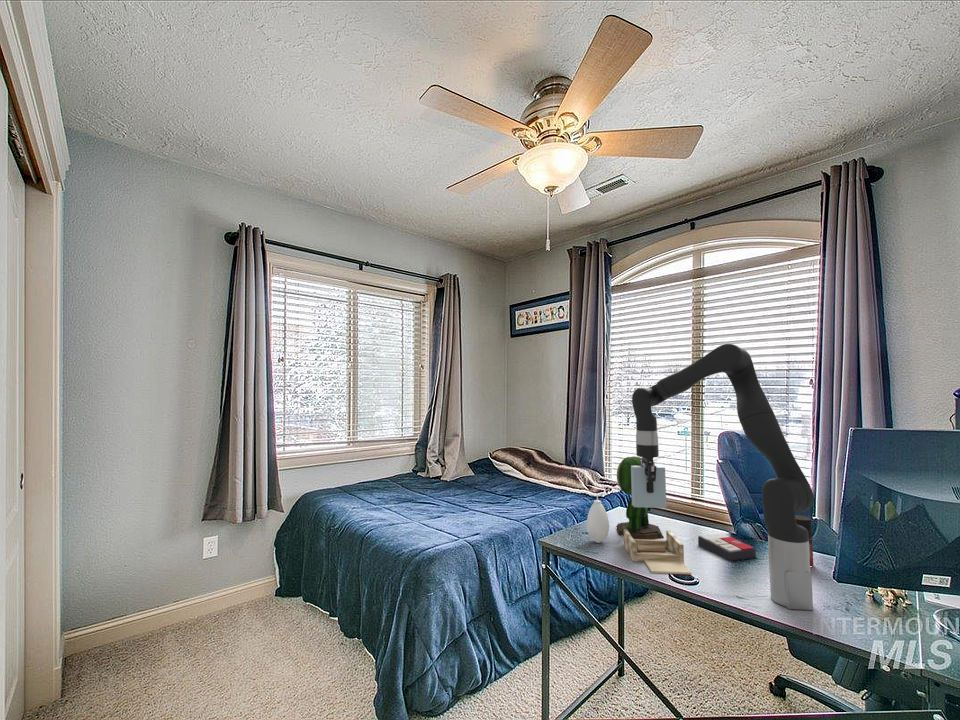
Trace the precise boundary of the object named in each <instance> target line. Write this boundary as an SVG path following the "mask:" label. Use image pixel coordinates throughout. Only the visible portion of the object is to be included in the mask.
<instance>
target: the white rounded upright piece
mask: <svg viewBox="0 0 960 720" xmlns="http://www.w3.org/2000/svg"><path fill="white" fill-rule="evenodd" d="M588 510H589V511H588V515H587V518H586V529H587V533H588V536H589V537H590V538H591V540H593V542H595V543H596V544H597V543H598V544H600V543H602V542H604V540H606V539H607V537H608V535H609V531H610V521H609V516H608V513H607V510H606V508H605V506H604V505H603V504H602V501H601V500H599V495H598V493H596V500H595V499H594V500H593V504H592V505H591V506H590V509H588Z"/></svg>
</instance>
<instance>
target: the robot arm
mask: <svg viewBox="0 0 960 720" xmlns="http://www.w3.org/2000/svg"><path fill="white" fill-rule="evenodd" d="M719 373H724V374H726V376H727V378H728V379H729V382H730V383H731V385H732V387H733V389H734V392H735V397H736V413H737V416H738V420H739V423H740V425H741V427H742V430H743V433H744V434H745V437H746V438H747V440H748V441H749V442H750V443H751V444H752V446H754V448H755V449H756V450H757V451H759V452H760V453H761V454H762V456H764V457H765V459H766V460H767V461H768V462H769V464H770V465H771V467H772V468H773V471H774V473H775V476H776V477H775V478H770V479H767V480H766V481H765V482H764V483H763V485H762V489H761V502H762V511H763V520H764V524H765V525H766V528H767V537H768V538H767V541H768V544H767V545H768V566H769V570H768V571H769V587H770V598H771V600H772V601H773V602H775V603H776V604H778V605H779V606H783V607H785V608H787V609H788V610H801V611H802V610H803V611H813V610H814V600H813V596H814V595H813V575H812V573H811V567H810V559H809V534H808V531H807V529H806V528H804V527H803V526H800V525H797V524H796V519H795V515H796V513H799V512H806V511H809V510H810V509H811V508H812V507H813V505H814V503H815V496H814V495H815V494H814V492H813V489H812V487H811V485H810V483H809V481H808V480H807V477H806V476H805V474H804V472H803V470H802V469H801V467H800V465H799V464H798V462H797V460H796V459H795V457H794V455H793V452H792V450H791V449H790V446H789V444H788V442H787V440H786V437H785V436H784V434H783V432H782V429H781V427H780V424H779V421H778V418H777V417H776V415H775V412H774V411H773V408H772V406H771V404H770V402H769V400H768V398H767V396H766V394H765V392H764V390H763V388H762V386H761V383H760V382H759V379H758V377H757V372H756V369H755V366H754V363H753V360H752V356H751V355H750V353H749V352H748V351H747V350H745V349H744V348H743V347H740V346H738V345H736V344H734V343H723V344H721V345H718V346H717V347H716V348H714V349H712V350H711V351H710V352H708V353H707V354H705V355H703V357H701V358H699V359H698V360H696V361H695V362H693V363H691V364H689V365H688V366H686V367H684V368H683V369H680V370H679V371H676V372H674V373H672V374H670V375H668V376H666V377H663V378H661V379H660V380H658V381H657V382H656V384H654V385H651V386H649V387H639V388H636V389H635V390H634V391H633V393H632V396H631V404H632V408H633V412H634V416H635V419H636V420H635V423H636V424H635V425H636V428H635V429H636V432H635V448H636V450H635V451H636V452H635V453H636V457H640V458H642V460H640V466H643V467H644V474H645V475H646V483H647V492H648V493H653V492H654V487H653V482H654V481H656V468H657V467H656V466H657V465H656V463H655V461H654V459H655V458H658V457H659V453H660V452H659V435H658V420H657V416H656V415H655V414H653V412H652V407H655V406H657V405H659V404H661V403H663V402H665V401H666V400H668V399H671V398H673V397H675V396H677V395H680V394H682V393H684V392H687V391H688V390H690V389H691V388H692V387H694V386H695V385H696V384H697V383H698V382H700V381H701V380H703V379H705V378H707V377H710V376H713V375H716V374H719ZM646 471H647V472H648V473H647V472H646ZM650 476H652V478H650Z"/></svg>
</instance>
